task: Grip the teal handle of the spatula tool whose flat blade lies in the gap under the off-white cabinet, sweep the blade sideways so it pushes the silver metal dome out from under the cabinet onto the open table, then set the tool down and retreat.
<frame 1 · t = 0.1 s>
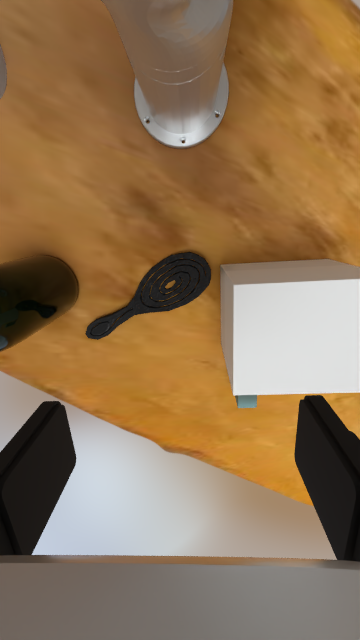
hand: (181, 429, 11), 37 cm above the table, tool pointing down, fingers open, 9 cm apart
spatula tool: (240, 372, 51), on the table
cabinet: (271, 303, 47), on the table
hairbrush: (144, 299, 48), on the table
beer bottle: (50, 285, 48), on the table
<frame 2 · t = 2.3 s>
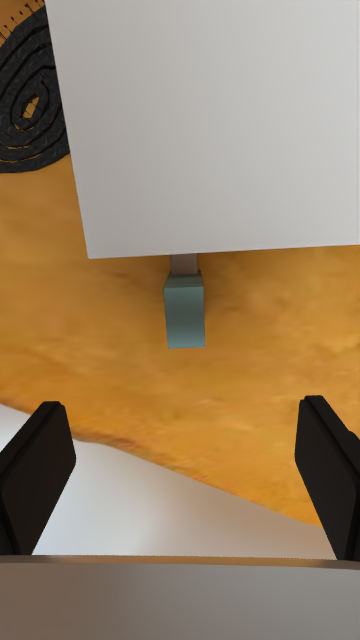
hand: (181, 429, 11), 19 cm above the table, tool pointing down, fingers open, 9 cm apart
spatula tool: (186, 295, 28), on the table
cabinet: (237, 144, 23), on the table
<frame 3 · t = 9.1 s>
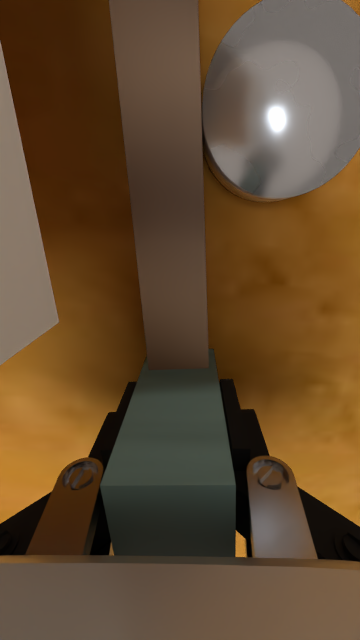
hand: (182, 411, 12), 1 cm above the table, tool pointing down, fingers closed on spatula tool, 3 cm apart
spatula tool: (183, 396, 14), on the table, touching gripper
silver metal dome: (270, 127, 10), on the table
when the fingers open (1 cm above the table, at t = 10.1 s): spatula tool stays where it is, on the table.
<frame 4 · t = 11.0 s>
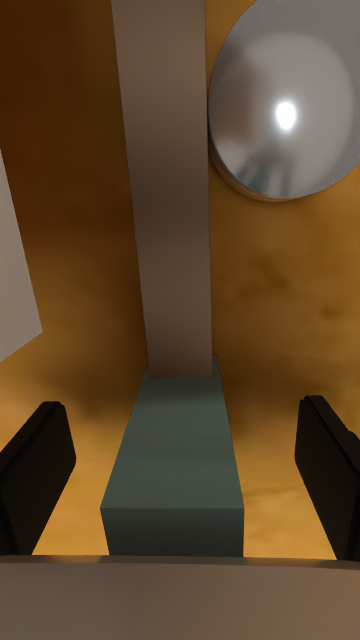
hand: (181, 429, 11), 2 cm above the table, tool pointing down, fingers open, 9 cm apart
spatula tool: (185, 404, 13), on the table
silver metal dome: (278, 124, 10), on the table
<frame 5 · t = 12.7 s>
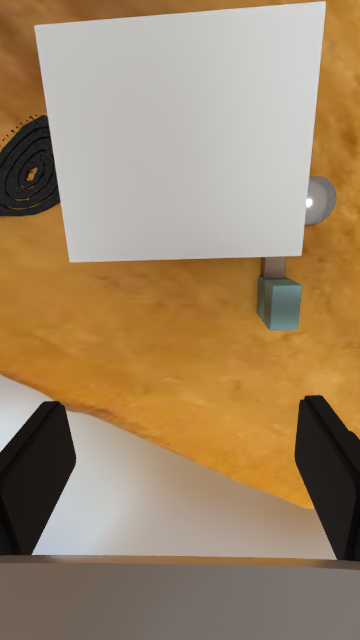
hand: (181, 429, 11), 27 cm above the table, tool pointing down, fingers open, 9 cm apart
spatula tool: (269, 294, 37), on the table
cabinet: (186, 187, 33), on the table
hairbrush: (5, 201, 36), on the table
silver metal dome: (306, 202, 33), on the table
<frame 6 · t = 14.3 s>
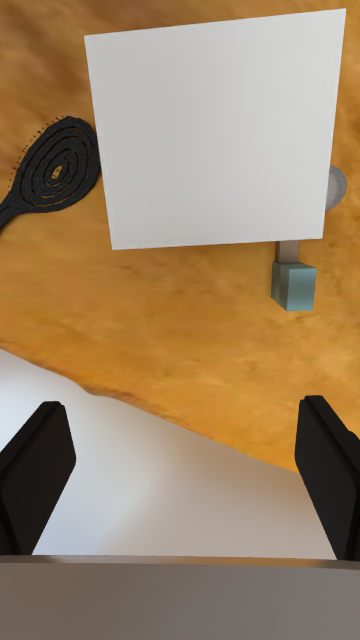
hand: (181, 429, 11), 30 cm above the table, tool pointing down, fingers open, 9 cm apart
spatula tool: (282, 279, 39), on the table
cabinet: (204, 179, 35), on the table
hairbrush: (31, 198, 38), on the table
silver metal dome: (317, 190, 35), on the table
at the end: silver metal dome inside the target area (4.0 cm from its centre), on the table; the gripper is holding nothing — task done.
